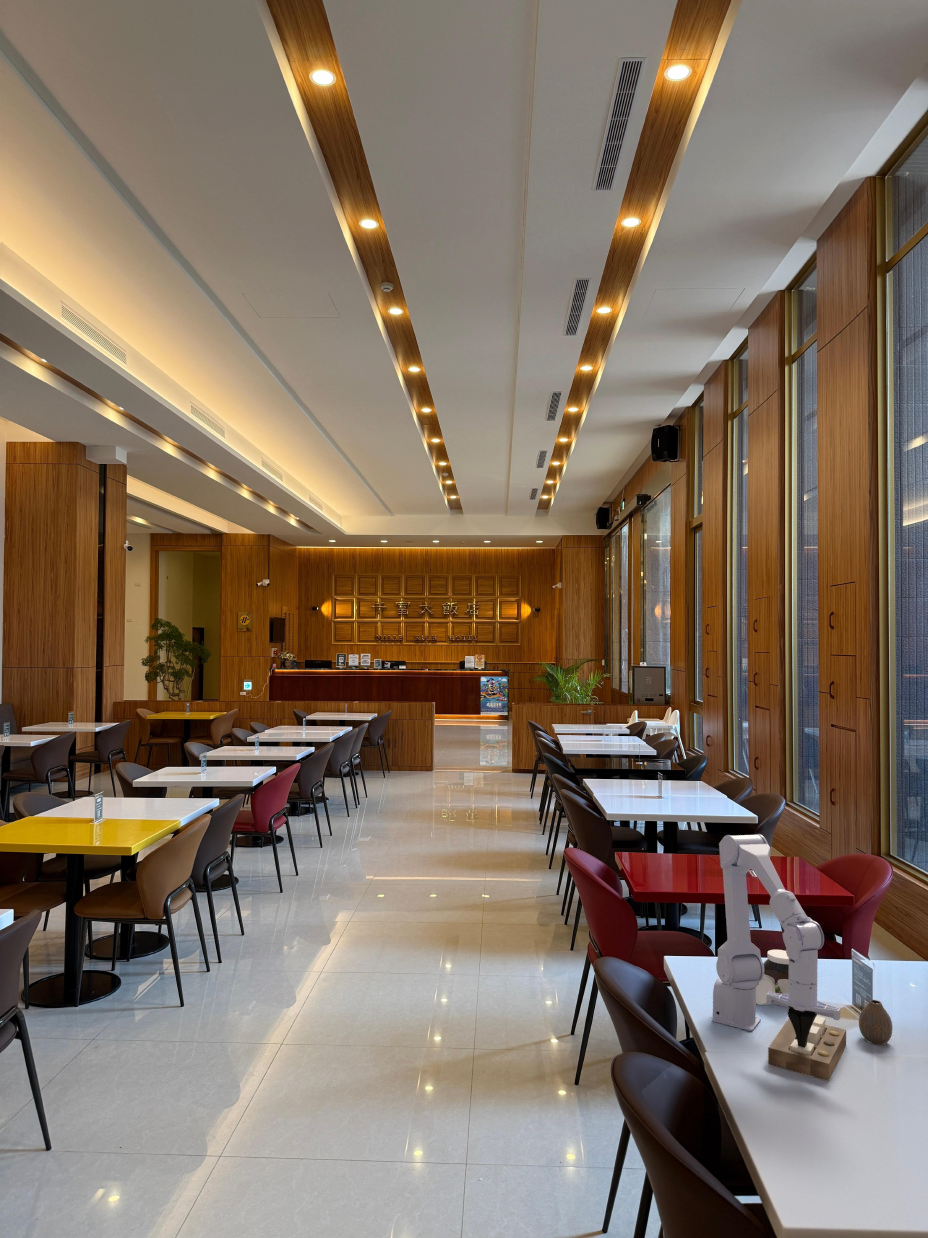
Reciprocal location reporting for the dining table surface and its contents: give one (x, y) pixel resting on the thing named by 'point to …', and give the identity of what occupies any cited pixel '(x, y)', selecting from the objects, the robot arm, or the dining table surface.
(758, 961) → the robot arm
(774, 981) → the spread jar
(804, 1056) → the button board
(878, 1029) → the vase
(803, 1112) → the dining table surface
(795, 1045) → the button
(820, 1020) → the button
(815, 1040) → the button middle
